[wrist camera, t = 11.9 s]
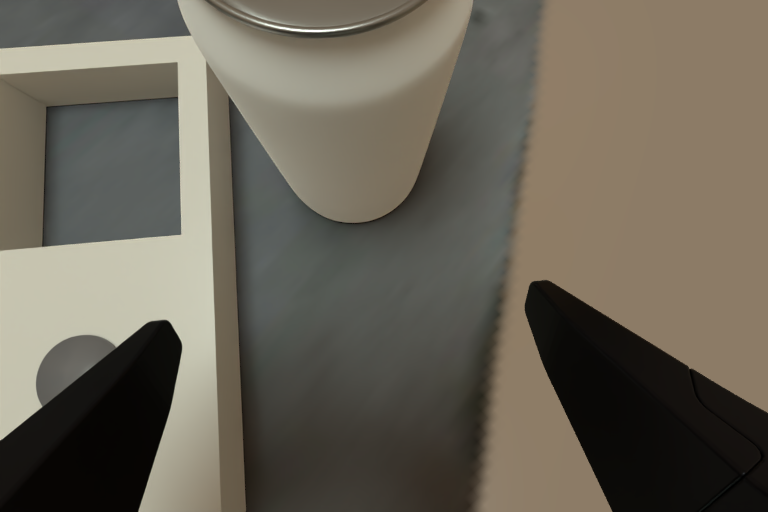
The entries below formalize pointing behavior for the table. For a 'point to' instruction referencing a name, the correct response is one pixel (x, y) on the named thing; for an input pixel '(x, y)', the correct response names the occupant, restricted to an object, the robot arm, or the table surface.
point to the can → (336, 89)
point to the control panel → (126, 262)
